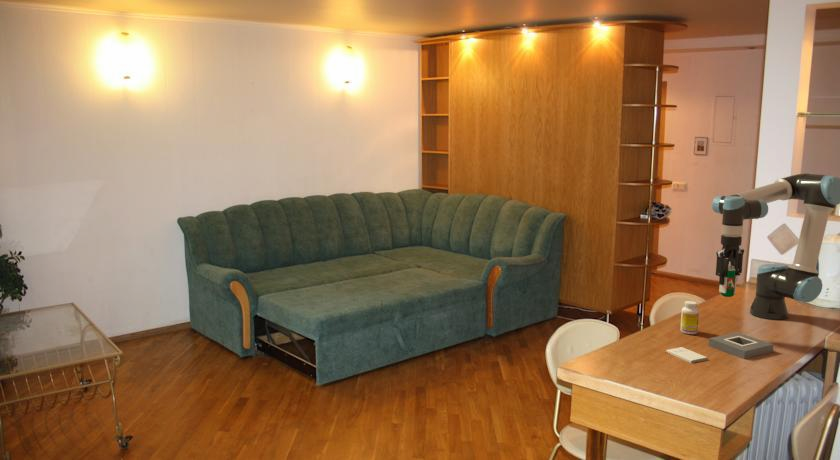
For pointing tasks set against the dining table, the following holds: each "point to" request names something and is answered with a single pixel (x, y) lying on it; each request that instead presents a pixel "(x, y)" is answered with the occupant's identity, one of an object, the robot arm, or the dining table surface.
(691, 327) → the supplement bottle
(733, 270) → the soda can
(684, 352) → the external hard drive
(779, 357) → the dining table surface
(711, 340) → the socket board
